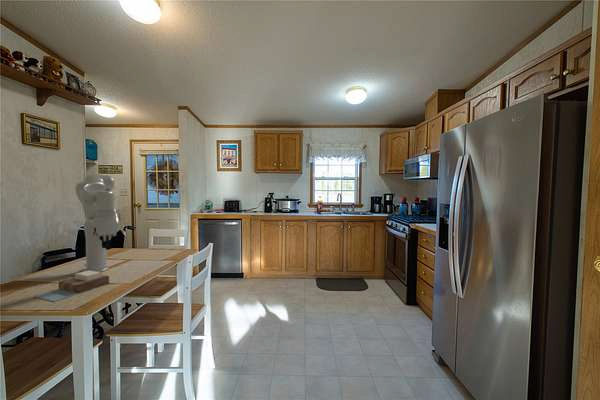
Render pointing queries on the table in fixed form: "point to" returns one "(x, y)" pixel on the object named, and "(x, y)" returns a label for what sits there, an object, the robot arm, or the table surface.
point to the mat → (55, 295)
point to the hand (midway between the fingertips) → (105, 247)
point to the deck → (83, 284)
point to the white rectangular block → (87, 275)
